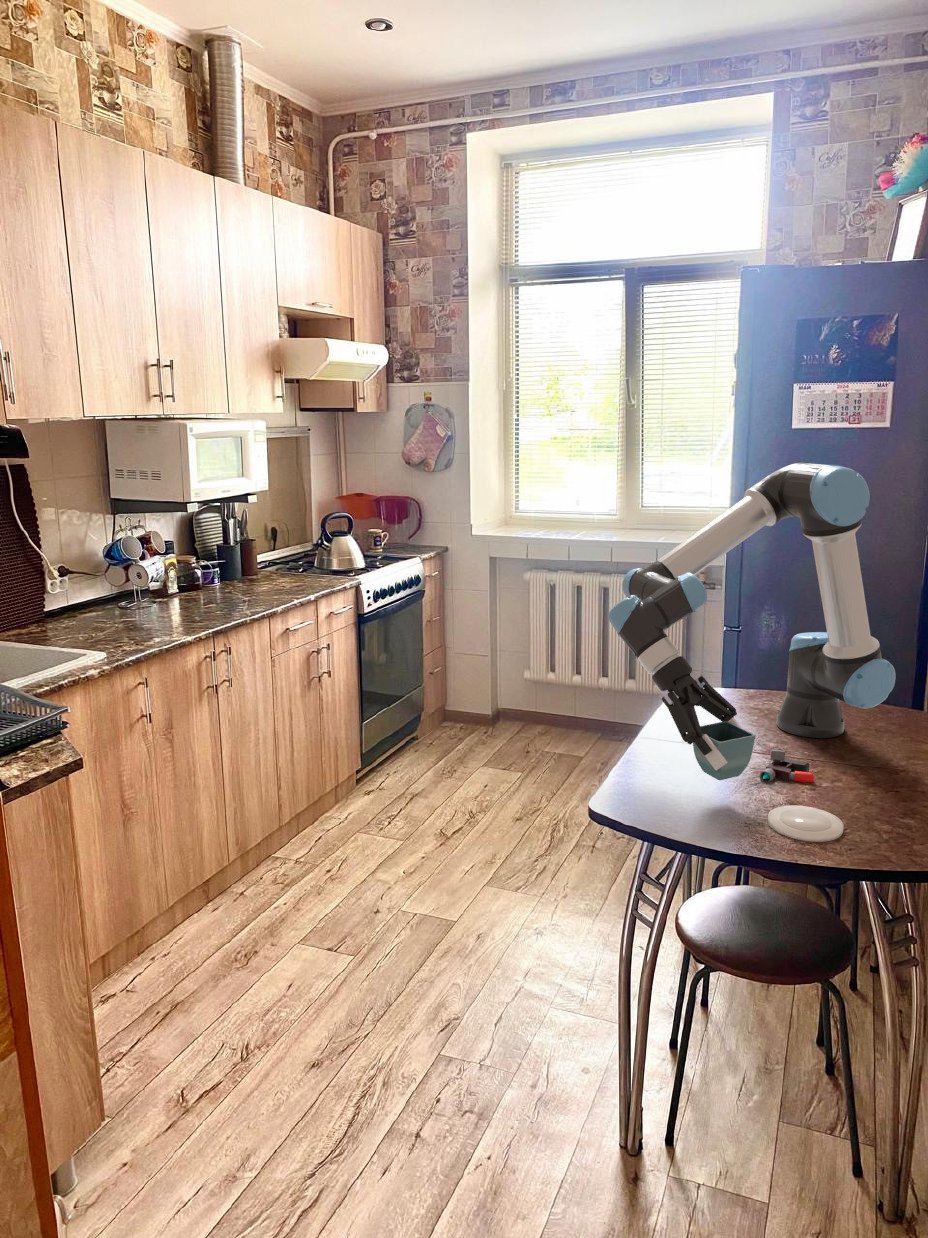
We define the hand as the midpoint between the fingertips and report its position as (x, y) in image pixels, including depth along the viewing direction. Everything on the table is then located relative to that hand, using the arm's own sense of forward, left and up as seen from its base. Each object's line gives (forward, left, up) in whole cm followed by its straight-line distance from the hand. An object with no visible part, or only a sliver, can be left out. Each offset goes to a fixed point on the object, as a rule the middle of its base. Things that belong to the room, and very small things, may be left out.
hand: (735, 757), depth 178 cm
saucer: (-7, +13, -10) cm, 17 cm away
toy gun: (-19, -7, -10) cm, 22 cm away
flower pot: (+1, -2, -5) cm, 5 cm away
